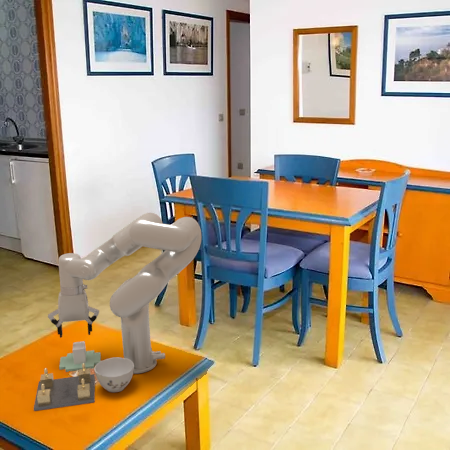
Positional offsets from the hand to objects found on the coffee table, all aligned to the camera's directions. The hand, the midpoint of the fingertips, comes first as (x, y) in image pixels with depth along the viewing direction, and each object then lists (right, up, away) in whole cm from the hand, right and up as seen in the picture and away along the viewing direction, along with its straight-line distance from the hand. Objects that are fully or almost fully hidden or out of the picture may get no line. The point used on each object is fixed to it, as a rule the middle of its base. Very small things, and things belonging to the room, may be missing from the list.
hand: (75, 334), depth 198 cm
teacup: (+17, -14, -14) cm, 26 cm away
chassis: (+2, -15, -17) cm, 23 cm away
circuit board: (+1, -10, +3) cm, 11 cm away
